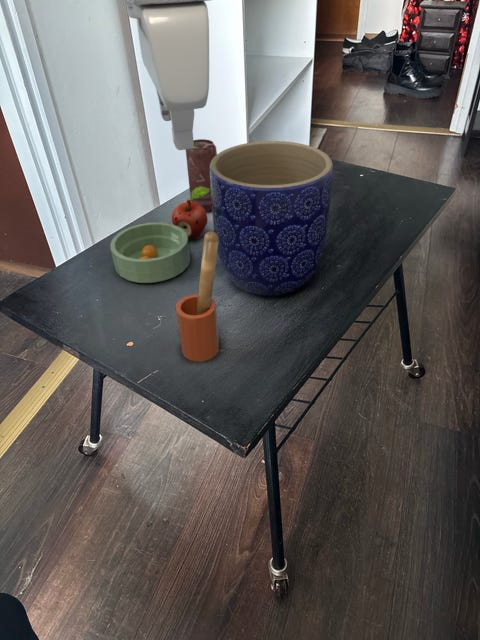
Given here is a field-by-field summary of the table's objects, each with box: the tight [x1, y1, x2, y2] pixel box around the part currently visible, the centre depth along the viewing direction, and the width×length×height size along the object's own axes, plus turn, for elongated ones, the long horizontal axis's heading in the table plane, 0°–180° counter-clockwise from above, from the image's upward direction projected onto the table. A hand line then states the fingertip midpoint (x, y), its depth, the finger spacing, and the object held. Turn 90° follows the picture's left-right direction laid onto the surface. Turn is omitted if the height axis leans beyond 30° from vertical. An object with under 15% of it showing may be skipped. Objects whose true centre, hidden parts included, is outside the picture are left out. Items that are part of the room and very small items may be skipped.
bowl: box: [109, 222, 191, 284], centre depth 86 cm, size 14×14×5 cm
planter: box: [210, 140, 334, 297], centre depth 77 cm, size 18×18×21 cm
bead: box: [141, 245, 158, 258], centre depth 87 cm, size 3×3×3 cm
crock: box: [175, 293, 220, 363], centre depth 67 cm, size 5×5×8 cm
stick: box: [196, 230, 219, 315], centre depth 63 cm, size 2×2×19 cm
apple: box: [171, 186, 210, 240], centre depth 92 cm, size 8×7×10 cm
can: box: [185, 138, 218, 214], centre depth 101 cm, size 6×6×14 cm
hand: (176, 132), depth 50 cm, fingers open, 8 cm apart
